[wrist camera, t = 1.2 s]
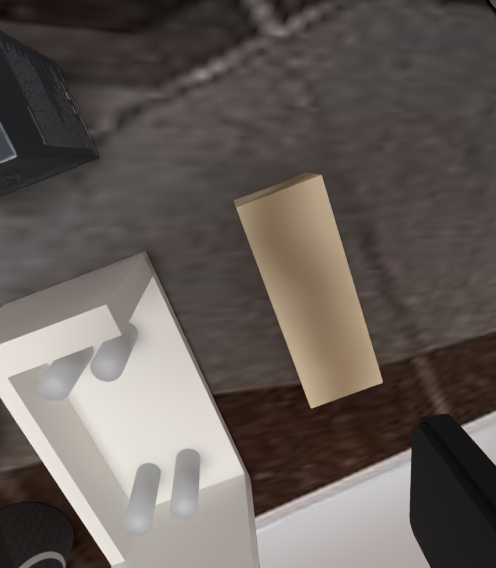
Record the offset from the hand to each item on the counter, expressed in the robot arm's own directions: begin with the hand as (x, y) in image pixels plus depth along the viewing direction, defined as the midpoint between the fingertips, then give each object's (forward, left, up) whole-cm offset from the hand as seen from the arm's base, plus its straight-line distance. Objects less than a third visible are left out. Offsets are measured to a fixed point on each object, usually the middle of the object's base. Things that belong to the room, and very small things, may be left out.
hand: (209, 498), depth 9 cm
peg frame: (+9, +7, -19) cm, 22 cm away
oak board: (-5, +3, -20) cm, 20 cm away
